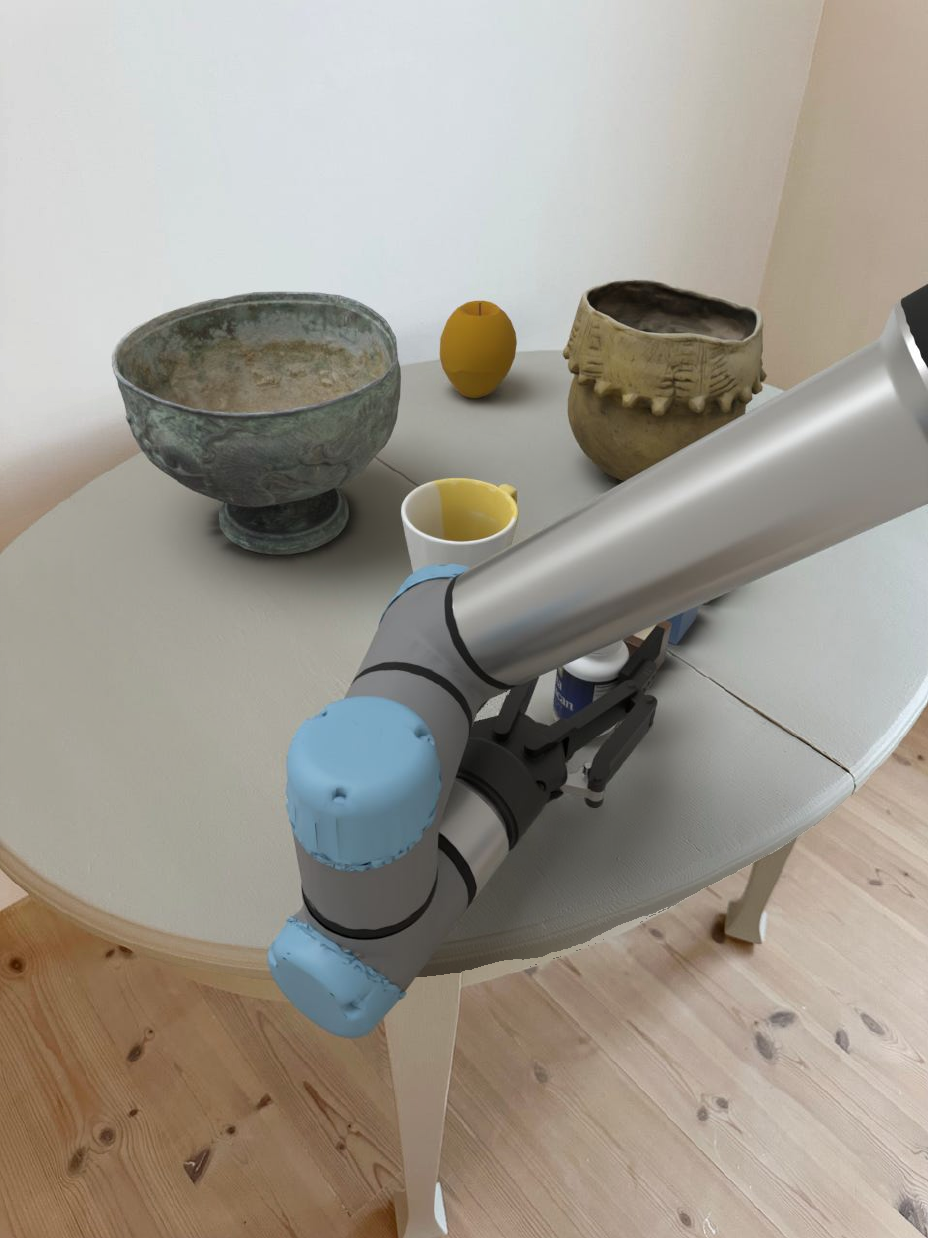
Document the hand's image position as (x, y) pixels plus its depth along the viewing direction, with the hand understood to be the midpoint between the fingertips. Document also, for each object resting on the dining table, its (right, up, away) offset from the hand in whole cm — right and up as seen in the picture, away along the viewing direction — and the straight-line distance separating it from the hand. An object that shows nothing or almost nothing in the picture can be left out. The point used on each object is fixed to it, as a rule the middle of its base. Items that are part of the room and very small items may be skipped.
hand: (623, 625), depth 77 cm
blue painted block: (+6, 0, +11) cm, 12 cm away
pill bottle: (-3, -7, +1) cm, 8 cm away
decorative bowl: (-32, +11, +23) cm, 41 cm away
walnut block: (+2, -4, +7) cm, 8 cm away
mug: (-12, +3, +14) cm, 19 cm away
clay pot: (+8, +17, +32) cm, 37 cm away
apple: (-11, +29, +46) cm, 55 cm away
